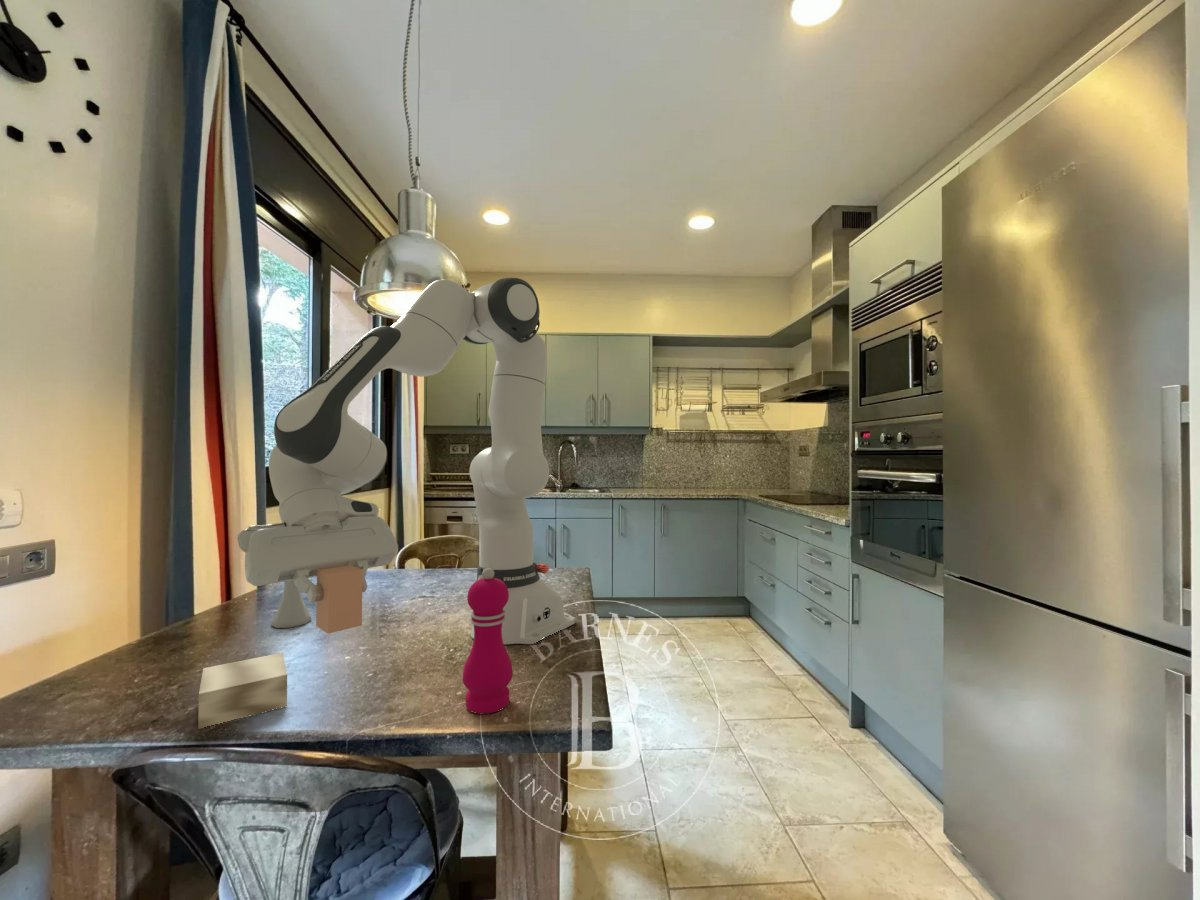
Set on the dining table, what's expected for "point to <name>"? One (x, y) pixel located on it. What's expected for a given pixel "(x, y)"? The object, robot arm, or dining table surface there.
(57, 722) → the dining table surface
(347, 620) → the terracotta block
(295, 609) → the flask
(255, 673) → the birch block
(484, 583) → the pepper mill
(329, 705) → the dining table surface
